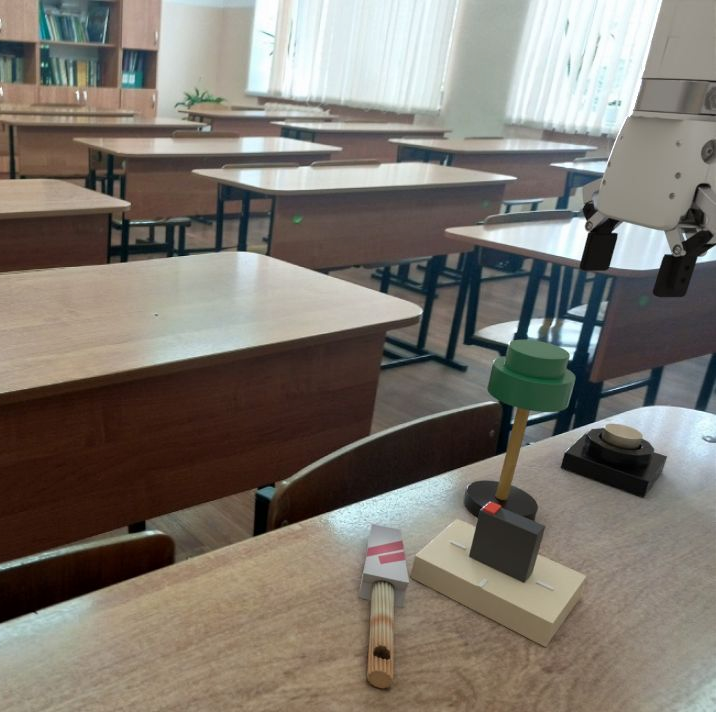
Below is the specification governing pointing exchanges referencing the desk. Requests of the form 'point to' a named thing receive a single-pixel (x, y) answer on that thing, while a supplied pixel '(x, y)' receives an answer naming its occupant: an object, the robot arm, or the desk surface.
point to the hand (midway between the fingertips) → (628, 282)
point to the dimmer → (499, 585)
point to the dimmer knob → (506, 541)
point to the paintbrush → (383, 598)
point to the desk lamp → (522, 414)
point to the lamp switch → (614, 463)
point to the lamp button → (621, 436)
